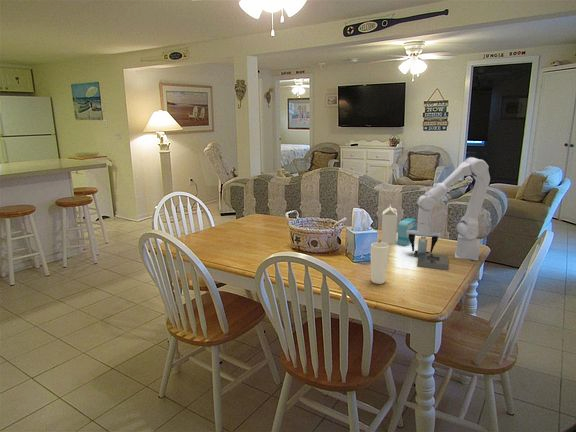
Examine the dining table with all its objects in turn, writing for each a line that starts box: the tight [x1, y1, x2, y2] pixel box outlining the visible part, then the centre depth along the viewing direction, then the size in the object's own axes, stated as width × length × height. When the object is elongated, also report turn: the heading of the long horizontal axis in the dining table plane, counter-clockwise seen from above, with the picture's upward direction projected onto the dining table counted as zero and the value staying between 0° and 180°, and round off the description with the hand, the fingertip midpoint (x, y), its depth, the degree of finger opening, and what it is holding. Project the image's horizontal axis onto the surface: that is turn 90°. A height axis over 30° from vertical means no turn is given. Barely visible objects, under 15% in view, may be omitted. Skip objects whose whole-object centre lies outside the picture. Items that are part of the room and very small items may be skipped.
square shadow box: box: [413, 249, 431, 258], centre depth 184 cm, size 6×6×2 cm
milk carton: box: [380, 203, 398, 245], centre depth 201 cm, size 7×7×19 cm
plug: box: [417, 236, 428, 255], centre depth 183 cm, size 4×4×8 cm
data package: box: [396, 217, 417, 247], centre depth 200 cm, size 12×4×12 cm, turn 142°
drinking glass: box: [370, 241, 390, 285], centre depth 155 cm, size 7×7×15 cm
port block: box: [416, 252, 449, 271], centre depth 174 cm, size 12×12×3 cm
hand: (422, 251), depth 183 cm, fingers open, 7 cm apart
